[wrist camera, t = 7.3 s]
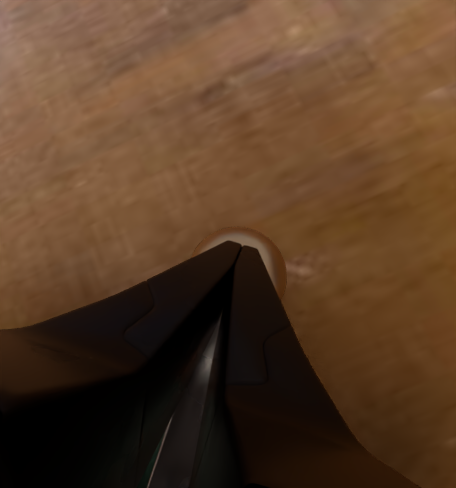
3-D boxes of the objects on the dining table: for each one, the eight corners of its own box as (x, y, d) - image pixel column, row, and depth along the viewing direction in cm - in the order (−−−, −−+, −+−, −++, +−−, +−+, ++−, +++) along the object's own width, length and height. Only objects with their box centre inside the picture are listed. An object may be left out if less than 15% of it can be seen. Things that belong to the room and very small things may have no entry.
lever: (206, 238, 13) (204, 196, 10) (286, 262, 13) (307, 226, 10) (38, 698, 8) (-57, 868, 5) (160, 752, 8) (128, 961, 5)
